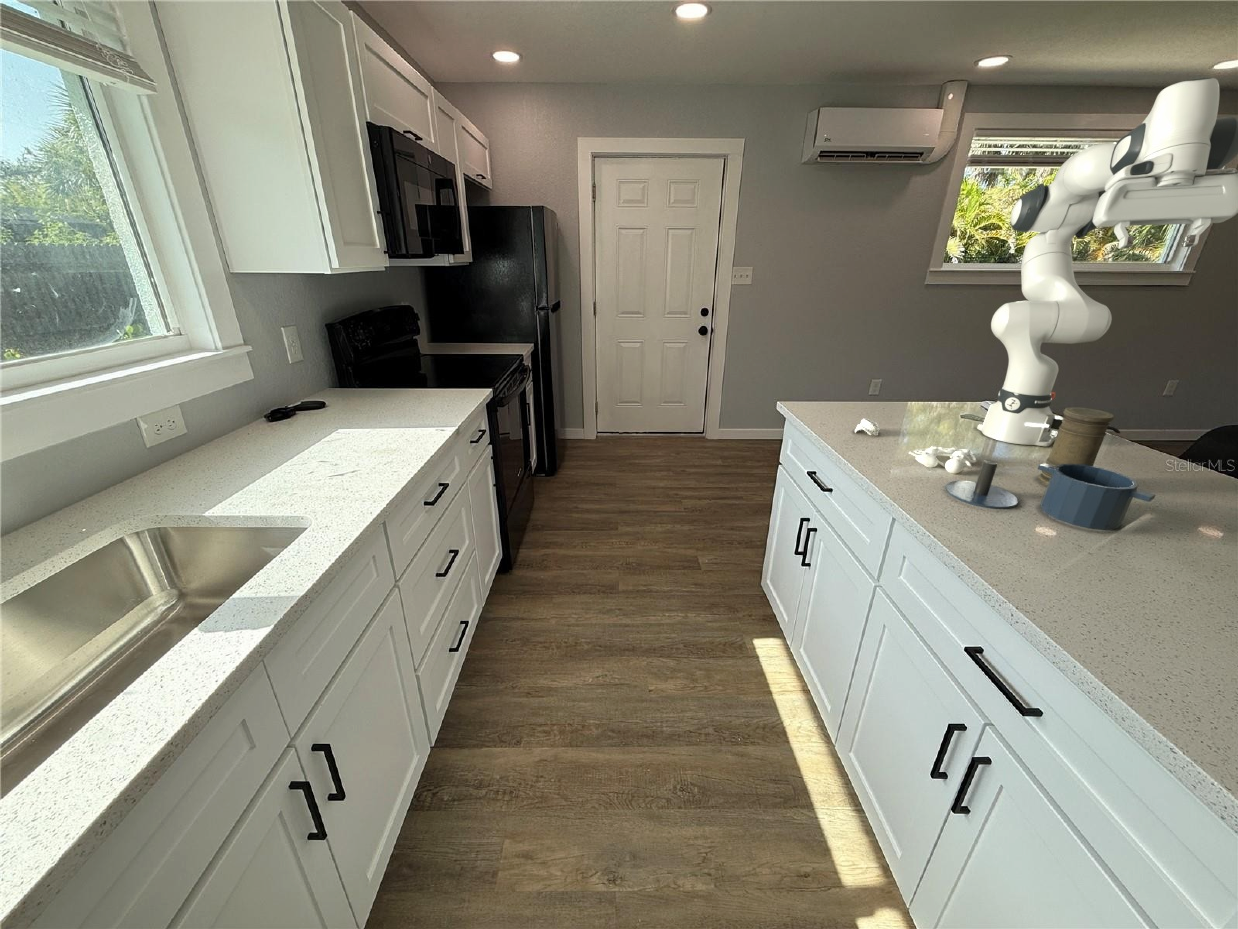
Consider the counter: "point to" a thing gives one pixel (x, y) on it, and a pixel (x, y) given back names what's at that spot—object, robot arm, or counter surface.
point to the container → (1078, 438)
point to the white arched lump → (868, 426)
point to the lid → (982, 490)
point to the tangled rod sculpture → (951, 465)
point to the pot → (1089, 495)
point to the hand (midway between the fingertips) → (1156, 246)
